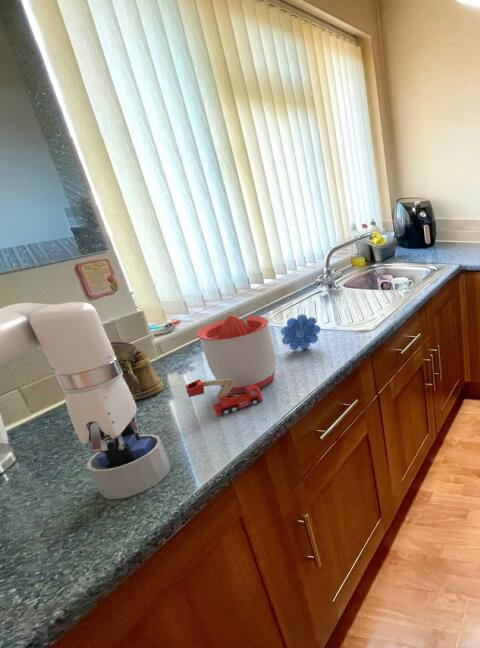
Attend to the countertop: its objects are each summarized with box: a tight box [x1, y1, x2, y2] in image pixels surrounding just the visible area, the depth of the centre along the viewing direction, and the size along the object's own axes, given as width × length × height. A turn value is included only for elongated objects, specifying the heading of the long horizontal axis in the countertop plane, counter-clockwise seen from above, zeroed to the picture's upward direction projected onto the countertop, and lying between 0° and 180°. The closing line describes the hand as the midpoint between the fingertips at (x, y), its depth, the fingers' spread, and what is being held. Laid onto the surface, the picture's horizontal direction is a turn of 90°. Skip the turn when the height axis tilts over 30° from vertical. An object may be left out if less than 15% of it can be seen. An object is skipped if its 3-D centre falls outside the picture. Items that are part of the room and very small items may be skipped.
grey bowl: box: [86, 434, 172, 500], centre depth 76 cm, size 10×10×6 cm
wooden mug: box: [110, 341, 165, 402], centre depth 102 cm, size 9×14×18 cm, turn 35°
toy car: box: [97, 434, 154, 469], centre depth 75 cm, size 7×3×4 cm, turn 113°
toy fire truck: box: [185, 378, 263, 417], centre depth 97 cm, size 3×14×10 cm, turn 134°
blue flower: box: [280, 313, 321, 351], centre depth 130 cm, size 12×7×12 cm, turn 109°
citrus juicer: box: [196, 315, 276, 394], centre depth 108 cm, size 16×17×20 cm
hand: (129, 458), depth 76 cm, fingers closed on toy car, 3 cm apart
